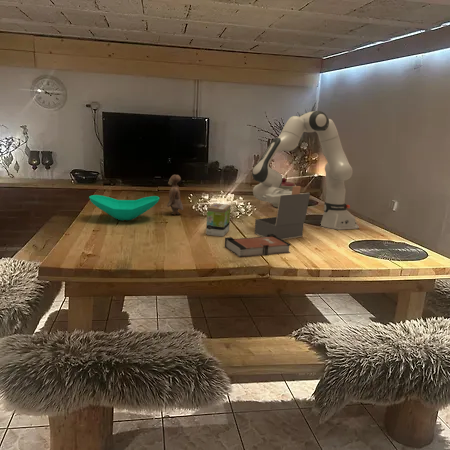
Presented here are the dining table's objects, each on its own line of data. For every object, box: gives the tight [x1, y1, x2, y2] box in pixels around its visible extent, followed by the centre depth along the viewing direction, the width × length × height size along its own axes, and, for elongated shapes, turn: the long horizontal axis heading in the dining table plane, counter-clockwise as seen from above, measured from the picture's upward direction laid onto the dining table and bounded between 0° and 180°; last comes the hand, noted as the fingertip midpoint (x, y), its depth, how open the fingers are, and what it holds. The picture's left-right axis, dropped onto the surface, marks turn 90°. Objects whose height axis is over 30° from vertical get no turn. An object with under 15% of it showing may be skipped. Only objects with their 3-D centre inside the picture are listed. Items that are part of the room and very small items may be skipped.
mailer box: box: [254, 216, 305, 241], centre depth 235 cm, size 20×16×8 cm
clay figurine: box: [166, 174, 184, 215], centre depth 272 cm, size 13×10×25 cm
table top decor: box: [88, 194, 160, 221], centre depth 254 cm, size 40×28×13 cm
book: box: [224, 234, 292, 258], centre depth 207 cm, size 26×18×5 cm
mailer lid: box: [275, 185, 311, 226], centre depth 224 cm, size 20×20×1 cm
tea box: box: [205, 202, 232, 237], centre depth 234 cm, size 15×10×15 cm
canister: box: [272, 177, 297, 209], centre depth 312 cm, size 18×18×21 cm
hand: (293, 200), depth 223 cm, fingers closed, pressing on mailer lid
